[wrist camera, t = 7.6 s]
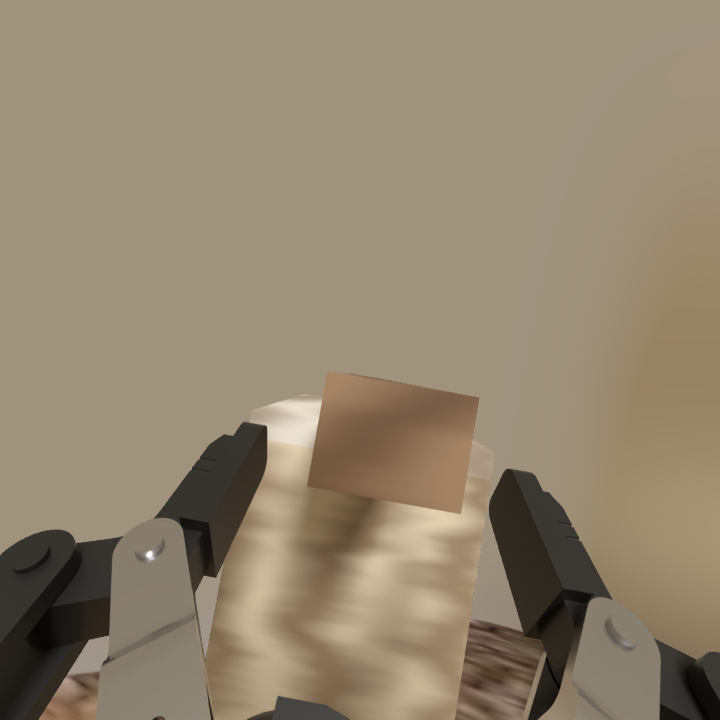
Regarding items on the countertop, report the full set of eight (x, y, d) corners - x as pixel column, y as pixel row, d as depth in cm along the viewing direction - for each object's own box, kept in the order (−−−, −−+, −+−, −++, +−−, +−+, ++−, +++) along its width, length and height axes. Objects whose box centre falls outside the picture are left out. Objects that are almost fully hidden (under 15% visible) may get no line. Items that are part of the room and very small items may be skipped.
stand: (383, 728, 33) (433, 416, 34) (402, 1068, 17) (495, 453, 18) (248, 702, 33) (304, 394, 34) (139, 1012, 17) (252, 410, 18)
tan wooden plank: (392, 410, 33) (397, 381, 33) (480, 517, 8) (498, 400, 8) (344, 402, 33) (349, 373, 33) (287, 483, 8) (308, 368, 8)
